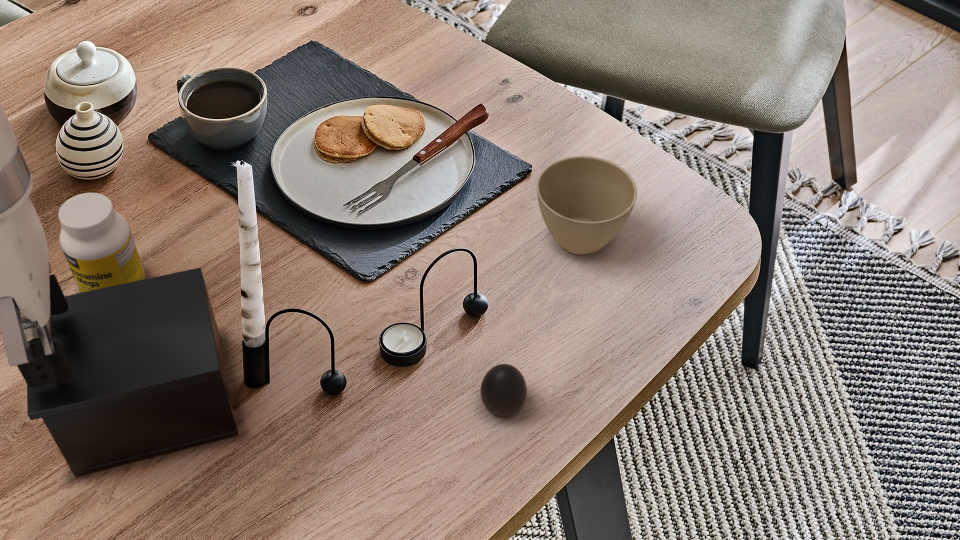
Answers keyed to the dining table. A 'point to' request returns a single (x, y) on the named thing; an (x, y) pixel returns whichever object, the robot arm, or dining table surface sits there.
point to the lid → (129, 342)
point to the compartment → (147, 422)
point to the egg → (503, 390)
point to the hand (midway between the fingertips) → (49, 344)
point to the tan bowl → (585, 201)
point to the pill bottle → (98, 243)
